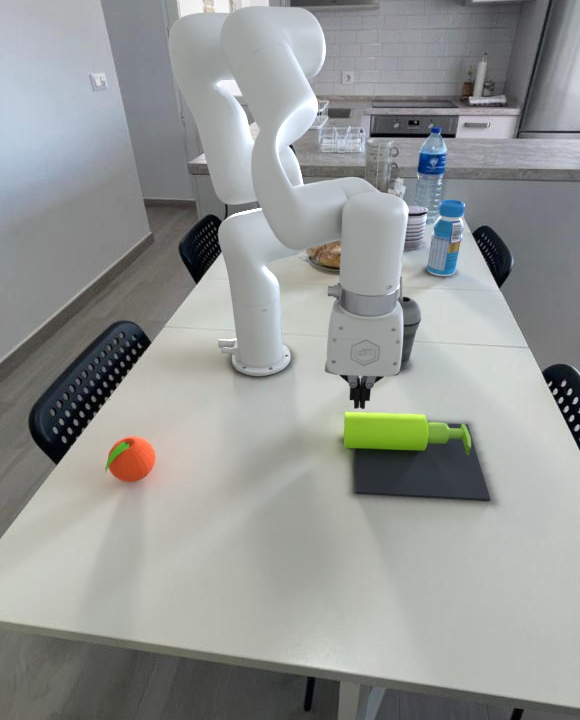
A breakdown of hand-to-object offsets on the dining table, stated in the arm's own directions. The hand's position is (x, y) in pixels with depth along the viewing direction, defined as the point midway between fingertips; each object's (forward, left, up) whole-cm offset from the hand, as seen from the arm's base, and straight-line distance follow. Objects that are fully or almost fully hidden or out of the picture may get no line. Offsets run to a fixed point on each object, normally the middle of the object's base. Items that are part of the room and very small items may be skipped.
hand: (359, 402), depth 68 cm
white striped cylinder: (+18, +96, -11) cm, 98 cm away
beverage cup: (+9, +26, -11) cm, 29 cm away
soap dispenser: (-2, +1, -8) cm, 8 cm away
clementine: (-35, -7, -11) cm, 38 cm away
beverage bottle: (+26, +74, -11) cm, 79 cm away
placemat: (+10, 0, -11) cm, 15 cm away
